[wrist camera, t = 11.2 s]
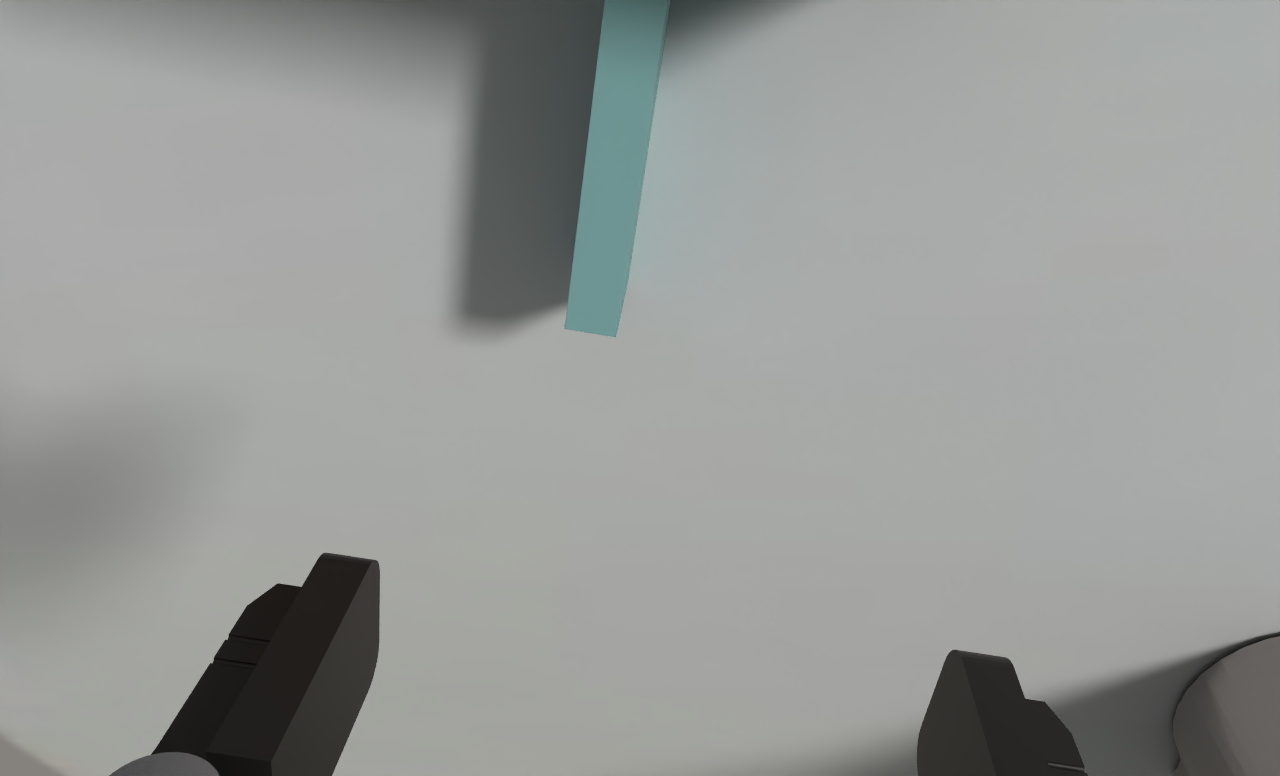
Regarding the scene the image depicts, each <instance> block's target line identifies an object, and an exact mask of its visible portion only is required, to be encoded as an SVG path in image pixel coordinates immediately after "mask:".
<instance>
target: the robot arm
mask: <svg viewBox="0 0 1280 776" xmlns="http://www.w3.org/2000/svg"><path fill="white" fill-rule="evenodd" d="M379 604H380V569H379V563H378V561H376V560H371V559H365V558H358V557H351V556H345V555H338V554H332V553H323V554H322V555H321V556H320V557H319V559H318V560H317V562H316V563H315V565H314V567H313V569H312V570H311V572H310V574H309V575H308V577H307V579H306V581H305V582H304V584H303V586H302V587H298V586H291V585H285V584H276V585H275V586H274V587H272V588H271V589H270V590H268V591H267V592H265V593H264V594H263V595H261V596H260V597H259V598H257V599H256V600H255V601H253V602H252V603H250V604H249V605H248V606H247V607H246V608H245V610H244V612H243V613H242V615H241V616H240V618H239V619H238V621H237V622H236V624H235V626H234V627H233V629H232V630H231V632H230V633H229V638H228V640H225V641H224V643H223V644H222V646H221V647H220V649H219V651H218V652H217V654H216V655H215V657H214V661H213V664H211V663H210V665H209V666H208V668H207V669H206V671H205V672H204V674H203V676H202V677H201V679H200V680H199V682H198V683H197V685H196V686H195V688H194V690H193V691H192V693H191V694H190V696H189V697H188V699H187V701H186V702H185V704H184V705H183V707H182V708H181V710H180V711H179V713H178V715H177V716H176V718H175V719H174V721H173V722H172V724H171V726H170V727H169V729H168V730H167V732H166V733H165V735H164V736H163V738H162V740H161V741H160V743H159V744H158V746H157V747H156V749H155V750H154V751H153V753H152V754H151V755H149V756H145V757H142V758H139V759H137V760H134V761H132V762H130V763H128V764H126V765H124V766H122V767H121V768H119V769H118V770H116V771H115V772H113V773H112V774H111V775H110V776H332V774H333V772H334V770H335V767H336V765H337V763H338V760H339V758H340V756H341V753H342V751H343V749H344V746H345V744H346V742H347V739H348V737H349V735H350V732H351V730H352V728H353V725H354V723H355V721H356V718H357V716H358V714H359V711H360V709H361V707H362V704H363V702H364V700H365V697H366V695H367V693H368V690H369V688H370V685H371V682H372V679H373V675H374V672H375V667H376V663H377V657H378V650H379ZM1173 739H1174V742H1175V744H1176V747H1177V750H1178V752H1179V755H1180V762H1179V765H1178V767H1177V769H1176V770H1175V772H1174V774H1173V776H1280V636H1278V637H1274V638H1269V639H1266V640H1263V641H1260V642H1257V643H1255V644H1252V645H1249V646H1246V647H1243V648H1241V649H1239V650H1238V651H1236V652H1234V653H1232V654H1230V655H1228V656H1226V657H1224V658H1222V659H1221V660H1219V661H1218V662H1217V663H1215V664H1214V665H1213V666H1211V667H1210V668H1209V669H1207V670H1206V671H1205V672H1203V673H1202V674H1201V675H1200V676H1199V677H1198V678H1197V679H1196V680H1195V681H1194V683H1193V684H1192V685H1191V686H1190V687H1189V688H1188V689H1187V690H1186V692H1185V694H1184V696H1183V697H1182V699H1181V701H1180V702H1179V704H1178V706H1177V709H1176V713H1175V717H1174V720H1173ZM917 768H918V775H919V776H1088V775H1087V773H1084V764H1083V762H1082V759H1081V757H1080V754H1079V752H1078V749H1077V747H1076V744H1075V742H1074V739H1073V737H1072V734H1071V732H1070V731H1069V730H1068V729H1067V728H1066V727H1065V725H1064V724H1063V723H1062V722H1061V721H1060V719H1059V718H1058V717H1057V716H1056V715H1055V714H1054V712H1053V711H1052V710H1051V709H1050V708H1049V706H1048V705H1047V704H1046V703H1045V702H1042V701H1036V700H1029V699H1025V697H1024V694H1023V692H1022V689H1021V686H1020V683H1019V680H1018V677H1017V675H1016V672H1015V669H1014V667H1013V664H1012V663H1011V661H1010V660H1009V659H1008V658H1005V657H999V656H992V655H986V654H979V653H973V652H966V651H959V650H952V651H951V652H950V653H949V654H948V656H947V657H946V660H945V662H944V665H943V668H942V671H941V673H940V676H939V679H938V682H937V684H936V687H935V690H934V693H933V695H932V698H931V701H930V704H929V706H928V709H927V712H926V715H925V717H924V720H923V723H922V726H921V729H920V733H919V739H918V746H917Z"/></svg>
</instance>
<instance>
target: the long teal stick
mask: <svg viewBox="0 0 1280 776" xmlns="http://www.w3.org/2000/svg"><path fill="white" fill-rule="evenodd" d="M670 2H671V0H605V2H604V10H603V18H602V27H601V35H600V43H599V51H598V59H597V68H596V76H595V84H594V92H593V100H592V109H591V117H590V125H589V133H588V141H587V150H586V158H585V166H584V174H583V182H582V191H581V199H580V207H579V215H578V223H577V232H576V240H575V248H574V256H573V264H572V273H571V281H570V289H569V297H568V305H567V314H566V322H565V329H569V330H575V331H581V332H587V333H593V334H599V335H605V336H611V337H616V335H617V330H618V326H619V321H620V316H621V312H622V307H623V303H624V298H625V293H626V289H627V284H628V278H629V271H630V265H631V258H632V251H633V245H634V238H635V232H636V225H637V219H638V212H639V206H640V199H641V192H642V186H643V179H644V173H645V166H646V160H647V153H648V146H649V140H650V133H651V127H652V120H653V114H654V107H655V101H656V94H657V87H658V81H659V74H660V68H661V61H662V55H663V48H664V42H665V35H666V28H667V22H668V15H669V9H670Z"/></svg>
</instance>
